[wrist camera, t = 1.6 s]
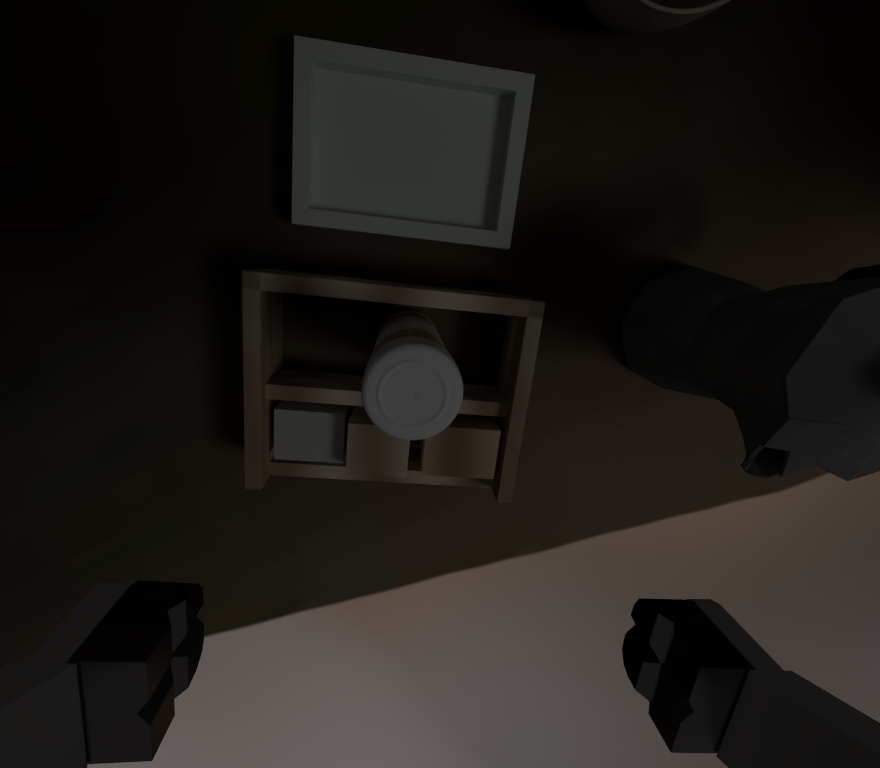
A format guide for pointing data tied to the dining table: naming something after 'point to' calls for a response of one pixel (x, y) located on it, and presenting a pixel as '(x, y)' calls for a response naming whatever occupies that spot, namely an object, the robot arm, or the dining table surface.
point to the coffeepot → (771, 363)
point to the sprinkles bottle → (411, 379)
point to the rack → (276, 384)
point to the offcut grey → (311, 431)
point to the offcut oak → (462, 448)
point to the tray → (406, 144)
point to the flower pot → (650, 13)
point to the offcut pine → (374, 449)
